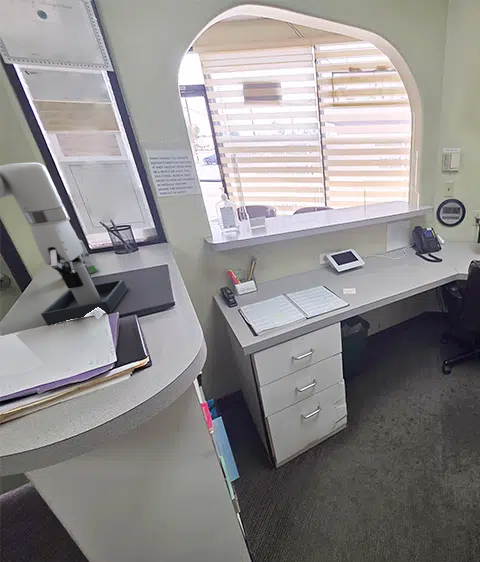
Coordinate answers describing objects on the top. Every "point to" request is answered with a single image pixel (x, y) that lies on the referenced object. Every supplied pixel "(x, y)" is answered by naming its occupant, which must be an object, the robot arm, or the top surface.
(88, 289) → the beverage can
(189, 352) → the top surface
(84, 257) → the ink box
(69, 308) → the desk tray
